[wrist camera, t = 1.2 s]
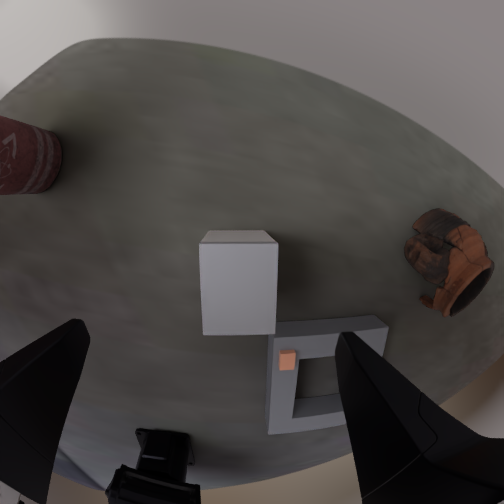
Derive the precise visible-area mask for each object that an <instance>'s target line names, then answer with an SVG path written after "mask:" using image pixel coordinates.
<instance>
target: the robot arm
mask: <svg viewBox="0 0 504 504" xmlns="http://www.w3.org/2000/svg"><path fill="white" fill-rule="evenodd" d="M89 344H90V335H89V333H88V330H87V328H86V326H85V323H84V321H83V320H81V319H71V320H69V321H68V322H66V323H64V324H63V325H61V326H59V327H57V328H56V329H54V330H52V331H51V332H49V333H47V334H46V335H44V336H42V337H41V338H39V339H37V340H36V341H34V342H32V343H31V344H29V345H27V346H26V347H24V348H22V349H21V350H19V351H17V352H16V353H14V354H13V355H11V356H9V357H8V358H6V360H3V361H1V362H0V504H24V502H23V501H21V500H20V497H21V494H22V495H24V496H26V497H27V498H29V499H31V500H33V501H35V502H37V503H39V504H46V501H47V495H48V490H49V484H50V479H51V474H52V470H53V465H54V460H55V456H56V452H57V448H58V445H59V441H60V437H61V434H62V430H63V427H64V424H65V420H66V417H67V414H68V411H69V408H70V405H71V402H72V399H73V396H74V393H75V390H76V387H77V384H78V382H79V379H80V376H81V373H82V369H83V365H84V362H85V358H86V355H87V351H88V348H89ZM335 361H336V368H337V376H338V385H339V392H340V398H341V402H342V406H343V411H344V415H345V419H346V424H347V428H348V432H349V437H350V442H351V446H352V451H353V456H354V461H355V466H356V470H357V476H358V481H359V487H360V492H361V497H362V504H504V438H488V437H484V436H481V435H479V434H477V433H476V432H474V431H473V430H471V429H470V428H468V427H467V426H465V425H464V424H463V423H461V422H460V421H458V420H456V419H455V418H454V417H453V416H451V415H450V414H448V413H447V412H446V411H444V410H443V409H442V408H440V407H439V406H438V405H437V404H436V403H434V402H433V401H432V400H431V399H430V398H428V397H427V396H426V395H425V394H424V393H423V392H421V391H420V390H419V389H418V388H417V387H416V386H415V385H414V384H412V383H411V382H410V381H409V380H408V379H407V378H406V377H404V376H403V375H402V374H401V373H400V372H399V371H398V370H396V369H395V368H394V367H393V366H392V365H391V364H390V363H388V362H387V361H386V360H385V359H384V358H383V357H382V356H380V355H379V354H378V353H377V352H376V351H375V350H374V349H372V348H371V347H370V346H369V345H368V344H367V343H366V342H364V341H363V340H362V339H361V338H360V337H359V336H358V335H356V334H355V333H354V332H352V331H344V332H341V333H340V334H339V337H338V341H337V344H336V348H335ZM135 434H136V436H137V439H138V442H139V444H140V447H141V451H140V455H139V458H138V462H137V465H136V469H133V468H130V467H127V466H126V465H123V464H122V465H121V467H120V469H119V468H118V469H116V471H115V474H114V477H113V479H112V481H111V483H110V484H109V486H108V487H107V489H106V491H105V494H106V496H107V498H108V502H109V504H201V496H200V485H198V484H195V485H194V484H189V483H185V482H186V473H187V465H194V464H195V460H194V456H193V452H192V447H191V443H190V438H189V435H187V434H183V433H171V432H160V431H152V430H144V429H136V431H135Z"/></svg>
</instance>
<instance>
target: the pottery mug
mask: <svg viewBox="0 0 504 504" xmlns="http://www.w3.org/2000/svg"><path fill="white" fill-rule="evenodd" d="M413 228H414V229H415V230H417V231H418V232H419V233H420V234H418V235H416V236H414V237H412V238H410V239H409V240H408V241H407V242H406V245H405V247H404V252H405V257H406V259H407V261H408V262H409V263H410V264H411V265H412V267H413V268H414V269H415V270H417V271H418V272H419V273H421V274H422V275H423V276H424V278H425V279H426V280H427V281H430V282H432V283H434V284H439V283H441V282H442V281H443V280H445V283H444V287H440V286H439V287H437V289H436V293H435V296H434V299H433V300H432V299H431V298H429V297H428V296H427V295H424V296H422V297H420V301H422V303H423V304H425V305H426V306H427V307H429V308H431V309H434V310H440V311H441V313H442V315H443V317H446V316H448V315H450V316H451V317H452V316H454V315H456V314H457V313H459V312H460V311H462V310H463V309H464V308H466V307H467V306H468V305H469V304H470V303H471V302H472V301H473V300H474V299H475V298H476V297H477V296H478V294H479V293H480V292H481V291H482V289H483V288H484V287H485V285H486V284H487V282H488V281H489V279H490V277H491V275H492V273H493V270H494V262H493V261H492V260H490V259H489V258H488V252H487V249H486V246H485V243H484V242H483V240H482V237H481V235H479V234H478V232H477V230H475V229H473V228H471V227H470V225H469V224H468V223H467V222H466V221H463V220H462V219H461V218H459V217H458V216H457V215H455V214H452V213H450V212H447V211H445V210H444V209H434V210H430V211H429V212H427V213H425V214H423V215H422V216H421V217H420V218H419V219H418V220H417V221H416V222H415V223H414V225H413ZM443 242H445V243H447V244H449V245H451V246H453V247H452V248H451V249H450V250H449V251H448V250H447V249H444V248H443Z"/></svg>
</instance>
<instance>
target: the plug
mask: <svg viewBox="0 0 504 504" xmlns="http://www.w3.org/2000/svg"><path fill="white" fill-rule="evenodd" d="M199 253H200V283H201V304H202V322H203V335H261V334H275V326H276V302H277V273H278V243H277V242H276V241H275V240H274V239H273V238H272V237H271V236H269V235H268V234H267V233H266V232H265V231H264V230H209V231H208V233H207V234H206V235H205V237H204V238H203V239H202V241H201V242H200V244H199Z"/></svg>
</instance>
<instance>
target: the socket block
mask: <svg viewBox="0 0 504 504" xmlns="http://www.w3.org/2000/svg"><path fill="white" fill-rule="evenodd" d="M388 329H389V327H388V326H387V325H386V324H385V323H383V322H382V321H381V320H380V319H379V318H377V317H376V316H375V315H366V316H356V317H345V318H333V319H319V320H303V321H284V322H276V326H275V334H268V360H267V383H266V403H265V419H266V425H267V431H268V435H270V434H282V433H292V432H300V431H308V430H315V429H321V428H327V427H333V426H338V425H343V424H346V419H345V415H344V411H343V406H342V402H341V398H340V393H339V394H332V395H325V396H318V397H310V398H302V399H295V392H296V383H297V375H298V365H299V359H308V358H318V357H328V356H335V348H336V344H337V341H338V337H339V334H340V333H341V332H344V331H352V332H354V333H355V334H356V335H358V336H359V337H360V338H361V339H362V340H363V341H364V342H366V343H367V344H368V345H369V346H370V347H371V348H372V349H374V350H375V351H376V352H377V353H378V354H379V355H380V356H383V352H384V347H385V343H386V338H387V334H388Z"/></svg>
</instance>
